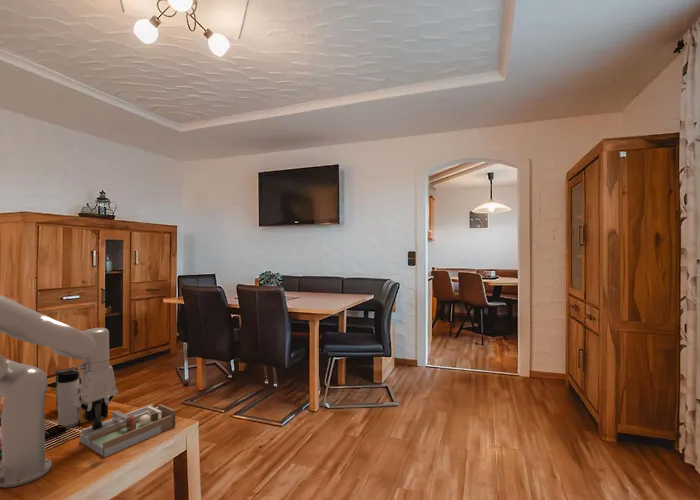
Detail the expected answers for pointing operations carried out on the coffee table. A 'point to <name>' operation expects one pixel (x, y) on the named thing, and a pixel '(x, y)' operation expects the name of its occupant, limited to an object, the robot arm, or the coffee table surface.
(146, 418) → the ball
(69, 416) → the travel mug
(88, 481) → the coffee table surface
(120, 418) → the kicker rod
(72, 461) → the coffee table surface
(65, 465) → the coffee table surface
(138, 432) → the pitch board
